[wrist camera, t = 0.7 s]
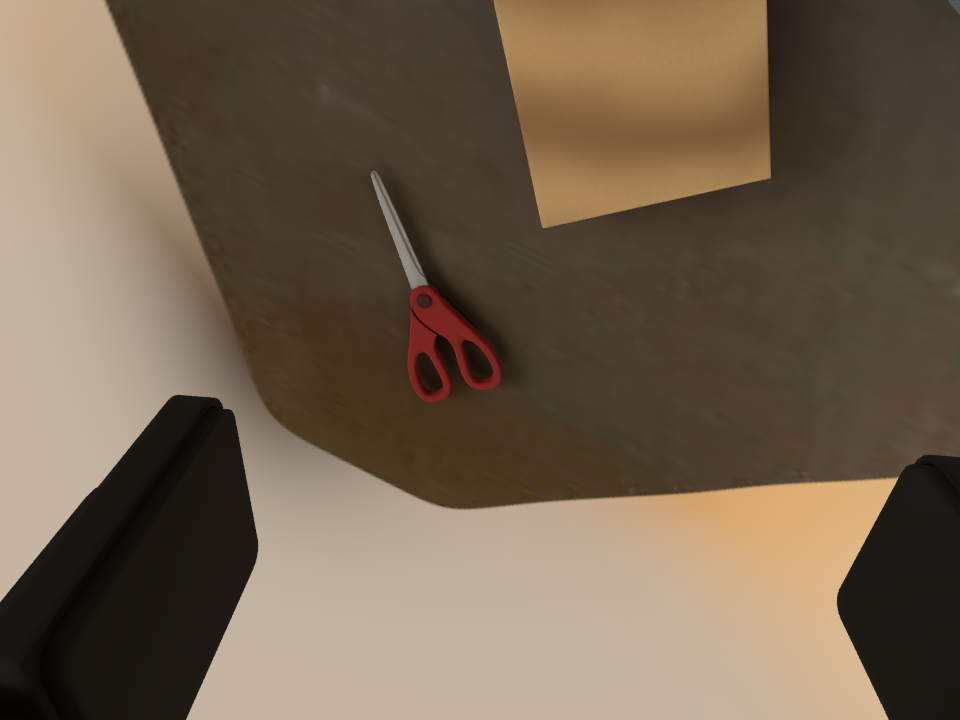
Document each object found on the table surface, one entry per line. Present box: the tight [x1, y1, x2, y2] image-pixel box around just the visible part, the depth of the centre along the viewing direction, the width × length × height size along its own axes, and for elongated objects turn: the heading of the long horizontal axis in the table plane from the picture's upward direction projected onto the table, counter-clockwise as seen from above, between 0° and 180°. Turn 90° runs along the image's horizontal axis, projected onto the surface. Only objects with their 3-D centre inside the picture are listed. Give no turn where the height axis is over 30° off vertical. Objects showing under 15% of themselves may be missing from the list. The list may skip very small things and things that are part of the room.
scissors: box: [371, 170, 502, 402], centre depth 35 cm, size 5×14×1 cm, turn 18°
